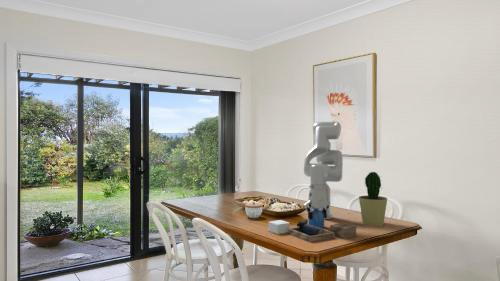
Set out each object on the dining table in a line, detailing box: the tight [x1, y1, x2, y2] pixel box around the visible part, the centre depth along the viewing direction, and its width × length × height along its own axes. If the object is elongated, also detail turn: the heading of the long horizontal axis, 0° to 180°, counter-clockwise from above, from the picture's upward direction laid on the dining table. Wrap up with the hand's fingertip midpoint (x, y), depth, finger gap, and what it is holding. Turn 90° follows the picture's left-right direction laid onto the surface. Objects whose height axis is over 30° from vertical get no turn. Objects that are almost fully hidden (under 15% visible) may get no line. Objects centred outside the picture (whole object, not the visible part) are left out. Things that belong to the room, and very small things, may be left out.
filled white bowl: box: [244, 201, 263, 219], centre depth 226 cm, size 11×11×9 cm
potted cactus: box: [358, 171, 388, 227], centre depth 208 cm, size 15×15×30 cm
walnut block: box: [329, 222, 357, 240], centre depth 182 cm, size 9×9×5 cm
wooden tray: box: [287, 225, 336, 243], centre depth 183 cm, size 18×15×2 cm
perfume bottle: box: [308, 208, 325, 228], centre depth 201 cm, size 6×6×12 cm
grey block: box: [267, 219, 291, 235], centre depth 191 cm, size 8×8×5 cm
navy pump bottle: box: [296, 219, 322, 236], centre depth 184 cm, size 9×8×12 cm
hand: (317, 218), depth 200 cm, fingers open, 9 cm apart
